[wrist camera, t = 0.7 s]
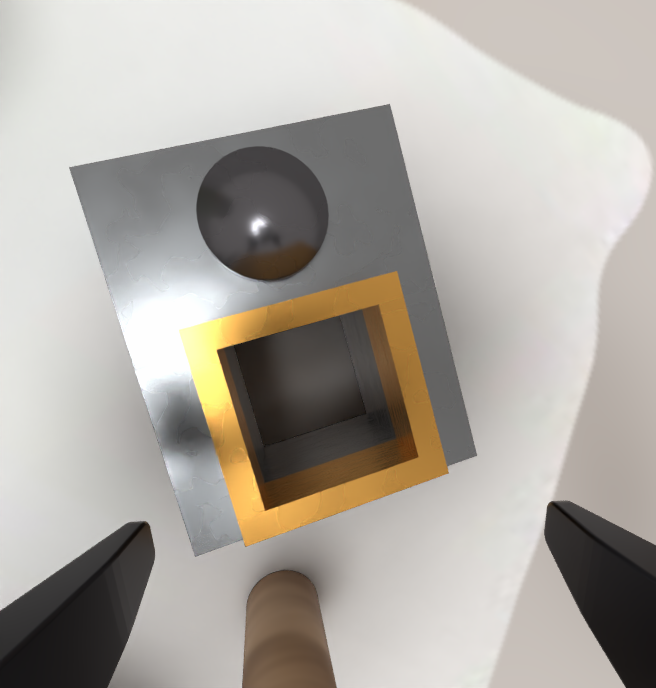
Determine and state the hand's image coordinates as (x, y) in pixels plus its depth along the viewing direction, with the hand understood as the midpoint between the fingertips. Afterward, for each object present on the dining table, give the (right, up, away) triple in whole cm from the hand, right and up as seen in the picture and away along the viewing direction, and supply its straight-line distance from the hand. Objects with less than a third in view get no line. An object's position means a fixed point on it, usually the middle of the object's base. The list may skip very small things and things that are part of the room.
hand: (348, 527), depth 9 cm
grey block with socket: (-3, +5, +12) cm, 14 cm away
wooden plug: (-3, -11, +13) cm, 17 cm away
